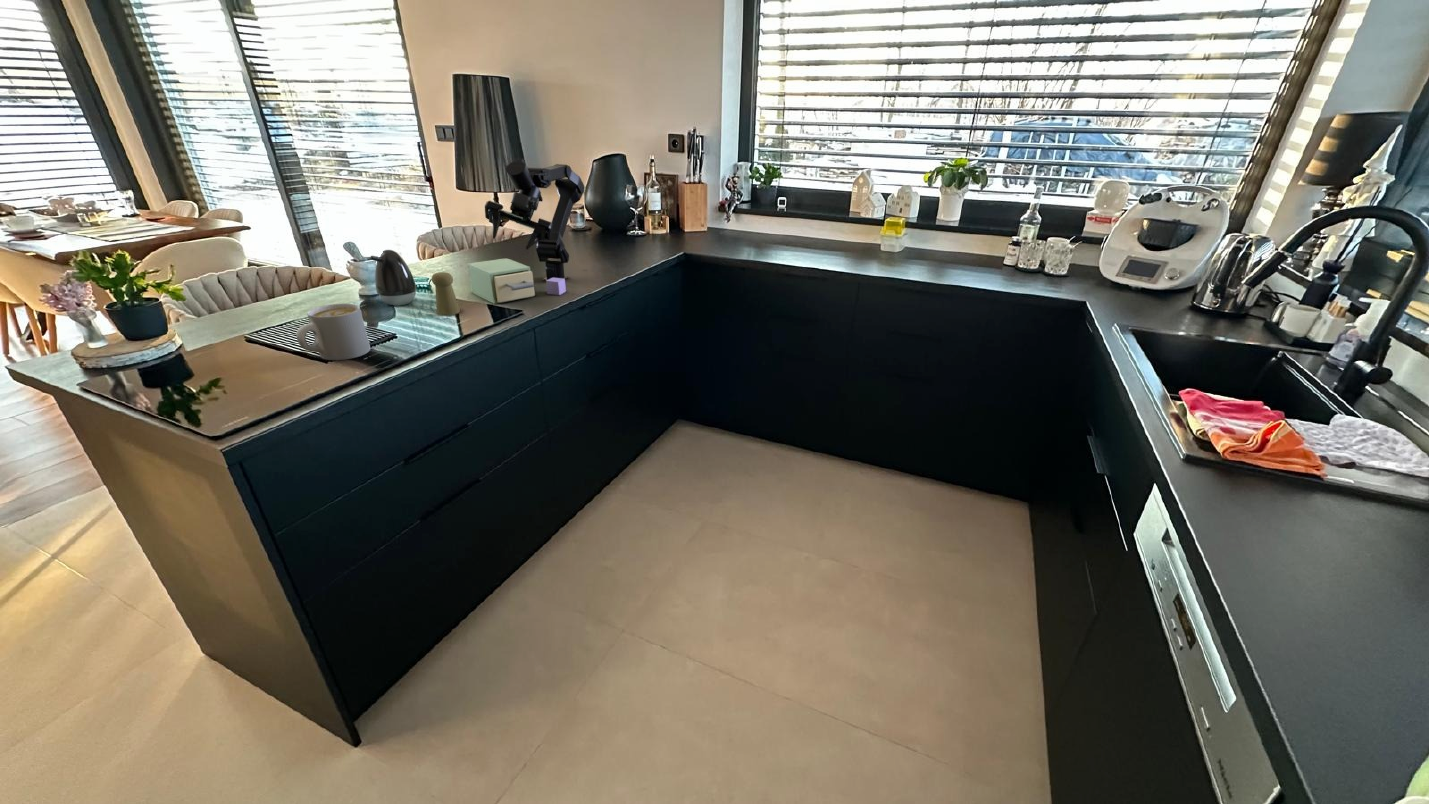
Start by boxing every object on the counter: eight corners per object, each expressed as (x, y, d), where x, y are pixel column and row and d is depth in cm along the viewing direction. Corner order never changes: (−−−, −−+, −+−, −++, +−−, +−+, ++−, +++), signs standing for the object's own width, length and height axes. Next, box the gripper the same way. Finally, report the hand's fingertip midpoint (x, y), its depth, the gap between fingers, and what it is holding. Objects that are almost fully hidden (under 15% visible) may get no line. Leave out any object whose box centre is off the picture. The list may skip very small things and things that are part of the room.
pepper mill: (454, 307, 159) (448, 269, 154) (463, 312, 155) (456, 273, 150) (433, 311, 155) (425, 272, 150) (441, 316, 152) (433, 276, 147)
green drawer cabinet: (533, 296, 171) (530, 266, 167) (494, 304, 163) (489, 273, 159) (510, 286, 180) (506, 258, 176) (472, 292, 172) (467, 263, 168)
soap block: (554, 290, 178) (552, 277, 176) (565, 291, 177) (564, 278, 175) (547, 293, 174) (545, 280, 173) (559, 295, 174) (558, 282, 172)
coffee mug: (361, 340, 134) (350, 300, 129) (377, 352, 128) (366, 310, 124) (296, 355, 125) (282, 312, 120) (310, 368, 119) (296, 324, 115)
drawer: (543, 299, 166) (540, 274, 163) (507, 306, 159) (503, 281, 156) (513, 286, 178) (510, 263, 174) (478, 292, 170) (474, 268, 167)
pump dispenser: (371, 304, 159) (357, 250, 152) (404, 295, 167) (392, 244, 160) (394, 310, 155) (381, 255, 148) (427, 301, 163) (416, 249, 156)
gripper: (493, 171, 156) (474, 213, 149) (559, 195, 160) (544, 237, 154) (494, 197, 165) (476, 238, 159) (557, 219, 170) (542, 260, 164)
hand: (510, 243), depth 159 cm, fingers open, 9 cm apart
